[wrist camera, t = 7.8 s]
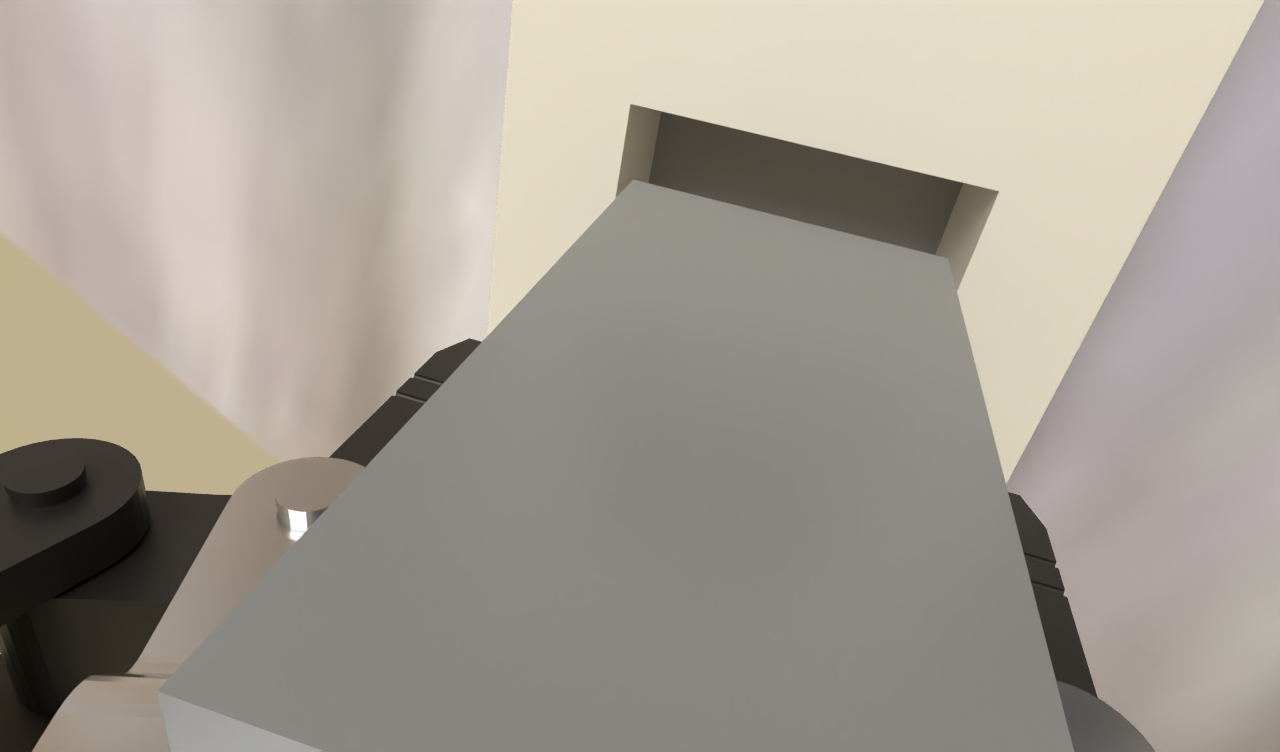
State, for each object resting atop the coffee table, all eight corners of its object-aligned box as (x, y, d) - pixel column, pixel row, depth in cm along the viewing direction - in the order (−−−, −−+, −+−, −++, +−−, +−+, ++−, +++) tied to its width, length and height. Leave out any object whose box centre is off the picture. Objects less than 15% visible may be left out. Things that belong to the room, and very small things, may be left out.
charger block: (948, 258, 11) (1167, 1113, 3) (847, 506, 13) (822, 1346, 5) (633, 179, 11) (122, 727, 4) (590, 430, 14) (226, 1094, 6)
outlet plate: (1621, -925, 8) (1965, -1314, 6) (926, 521, 18) (936, 615, 16) (683, -980, 9) (616, -1322, 7) (525, 404, 20) (475, 475, 17)
